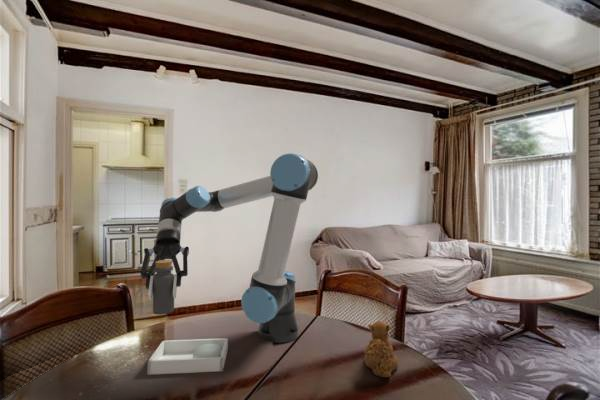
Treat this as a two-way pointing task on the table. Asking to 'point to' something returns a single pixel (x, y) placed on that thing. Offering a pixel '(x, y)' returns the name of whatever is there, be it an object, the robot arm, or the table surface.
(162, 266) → the bottle
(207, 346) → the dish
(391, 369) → the brown fuzzy plush figure
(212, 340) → the tray
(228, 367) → the table surface
